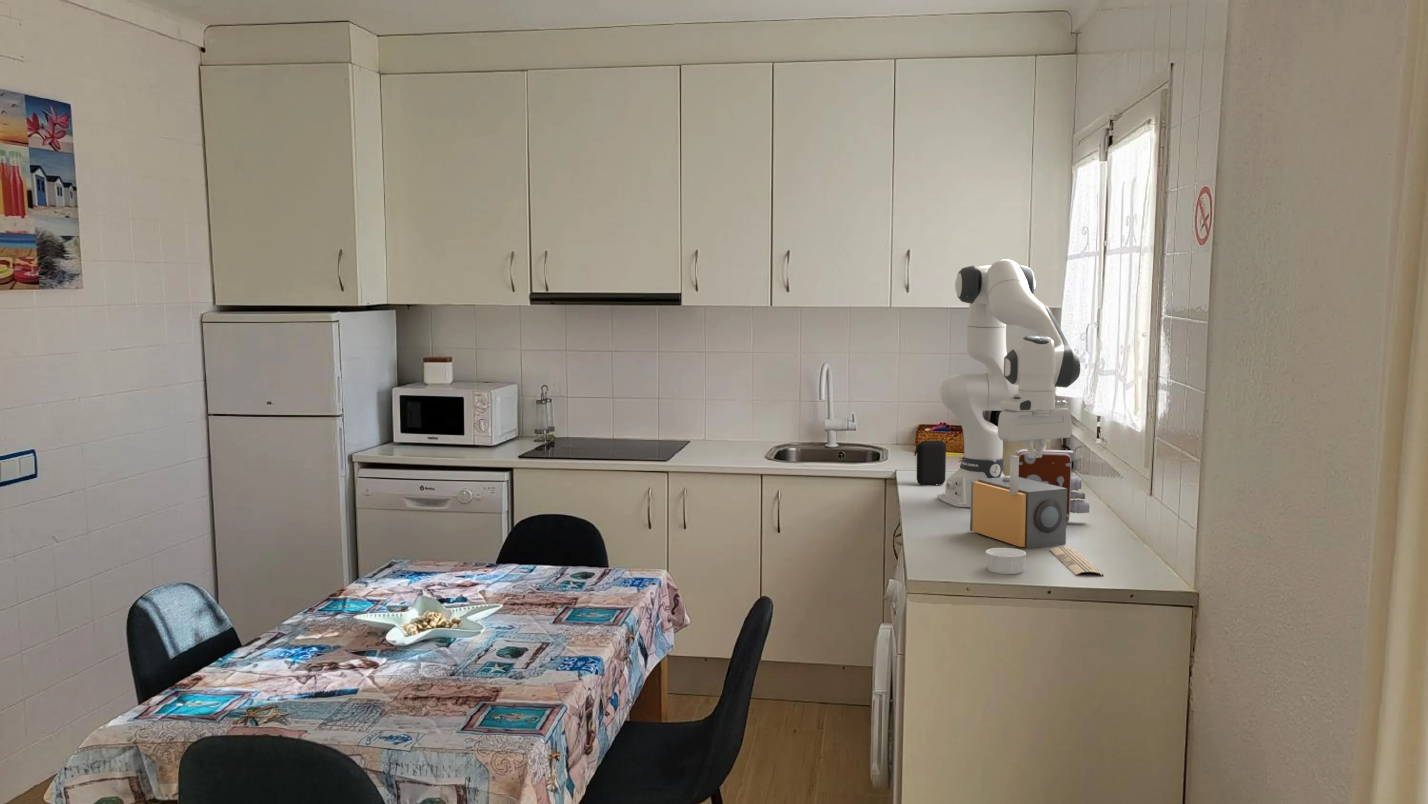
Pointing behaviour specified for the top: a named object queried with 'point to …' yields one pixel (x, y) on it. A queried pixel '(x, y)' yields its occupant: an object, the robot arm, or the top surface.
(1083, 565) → the newspaper
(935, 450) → the carrying case or bag
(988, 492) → the door
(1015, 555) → the ramekin
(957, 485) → the robot arm
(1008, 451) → the plant pot
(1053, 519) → the box
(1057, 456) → the cine camera
